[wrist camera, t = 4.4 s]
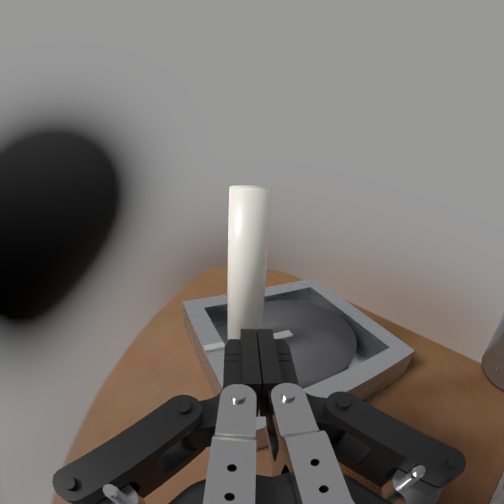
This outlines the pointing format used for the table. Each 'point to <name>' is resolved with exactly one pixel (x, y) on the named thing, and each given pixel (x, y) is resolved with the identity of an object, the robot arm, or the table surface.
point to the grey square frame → (311, 291)
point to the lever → (279, 311)
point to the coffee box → (499, 492)
